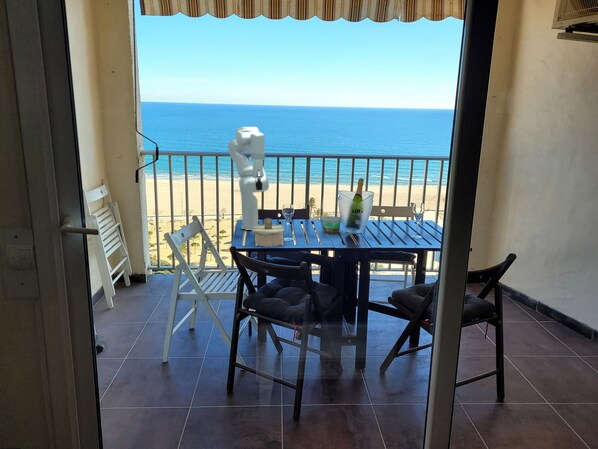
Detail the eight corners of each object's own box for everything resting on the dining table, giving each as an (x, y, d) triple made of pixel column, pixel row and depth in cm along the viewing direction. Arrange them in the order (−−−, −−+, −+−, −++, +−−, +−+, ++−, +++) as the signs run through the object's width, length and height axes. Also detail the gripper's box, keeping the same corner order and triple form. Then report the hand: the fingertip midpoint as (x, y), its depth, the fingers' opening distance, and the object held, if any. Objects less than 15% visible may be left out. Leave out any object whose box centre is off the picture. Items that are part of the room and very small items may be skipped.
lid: (251, 227, 243) (251, 216, 241) (282, 225, 245) (282, 215, 244) (253, 235, 227) (252, 224, 225) (285, 234, 229) (285, 222, 227)
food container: (319, 234, 254) (319, 217, 251) (320, 231, 259) (320, 214, 257) (341, 234, 252) (341, 218, 249) (341, 232, 258) (342, 215, 255)
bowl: (255, 239, 243) (254, 227, 242) (280, 238, 245) (280, 226, 243) (256, 247, 230) (255, 234, 228) (283, 246, 232) (282, 233, 230)
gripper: (250, 155, 243) (251, 185, 247) (251, 158, 226) (252, 191, 231) (264, 154, 244) (264, 185, 248) (265, 158, 227) (266, 191, 232)
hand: (258, 188), depth 239 cm, fingers open, 9 cm apart
